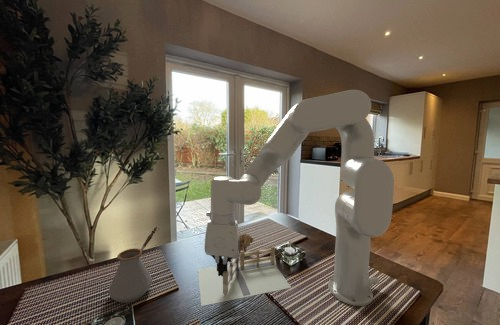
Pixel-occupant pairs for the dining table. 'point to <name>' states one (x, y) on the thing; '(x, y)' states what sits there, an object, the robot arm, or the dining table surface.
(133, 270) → the coffee pot
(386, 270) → the dining table surface
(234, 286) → the card
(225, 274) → the fence panel
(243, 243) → the lion figurine
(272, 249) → the fixed fence
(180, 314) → the dining table surface
